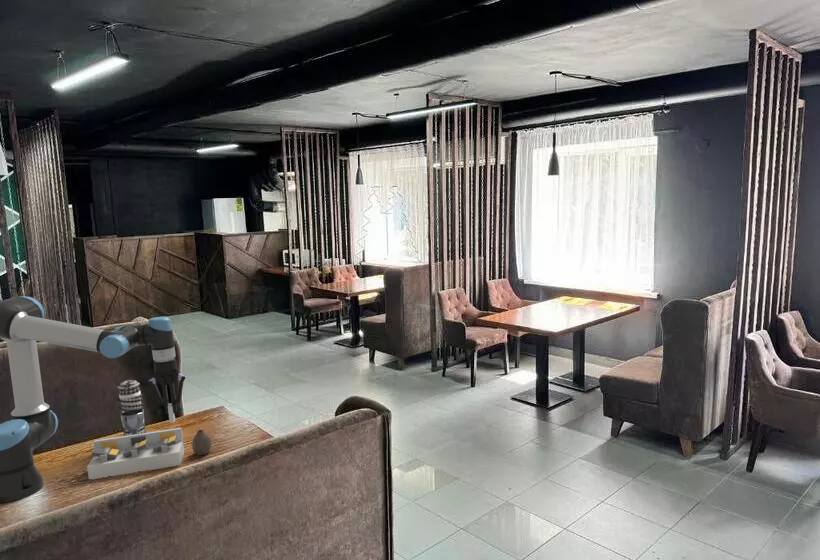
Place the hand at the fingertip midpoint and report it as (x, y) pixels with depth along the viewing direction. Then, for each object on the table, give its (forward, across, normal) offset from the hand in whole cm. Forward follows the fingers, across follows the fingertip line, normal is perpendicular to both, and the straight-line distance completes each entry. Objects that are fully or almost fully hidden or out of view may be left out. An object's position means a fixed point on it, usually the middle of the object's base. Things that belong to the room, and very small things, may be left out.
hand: (172, 421), depth 205 cm
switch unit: (+15, -13, 0) cm, 20 cm away
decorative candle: (+15, -19, +27) cm, 36 cm away
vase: (+15, +9, +3) cm, 18 cm away
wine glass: (+15, -17, +18) cm, 29 cm away
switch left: (+8, -23, 0) cm, 24 cm away
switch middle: (+8, -13, 0) cm, 15 cm away
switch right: (+8, -3, 0) cm, 9 cm away
